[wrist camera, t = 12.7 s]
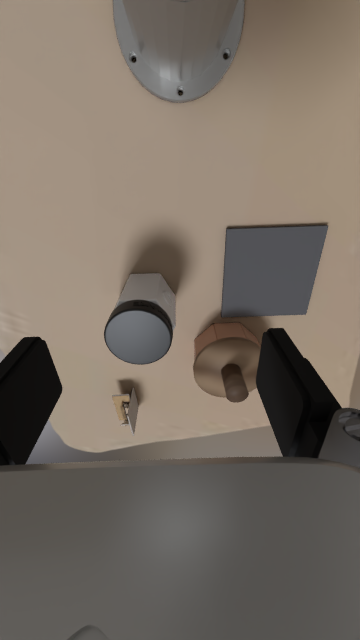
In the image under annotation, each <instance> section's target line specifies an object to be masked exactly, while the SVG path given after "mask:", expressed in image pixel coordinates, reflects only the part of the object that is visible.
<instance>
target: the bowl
mask: <svg viewBox="0 0 360 640" xmlns="http://www.w3.org/2000/svg"><path fill="white" fill-rule="evenodd" d="M226 337H241V338H246V339H249V340H251V341H253V342H255V343H256V344H258V345H259V346H260V344H259V342H258V340H257V338H256V337H255V336H254V335H253V334H252V333H251V332H250V331H249V330H247V329H246V328H245V327H244V326H243V325H242V324H241V323H214V324H212V325H211V326H210V327H209V328H207V329H206V330H205V331H204V332H203V333H202V334H200V335H199V336H198V337H197V338H196V339H195V340H194V360H195V359H196V357H197V355H198V353H199V352H200V351H201V350H202V349H203V348H204V347H205V346H207V345H208V344H210V343H211V342H214V341H216V340H219V339H222V338H226ZM260 347H261V346H260Z"/></svg>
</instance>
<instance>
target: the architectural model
mask: <svg viewBox="0 0 360 640" xmlns="http://www.w3.org/2000/svg"><path fill="white" fill-rule="evenodd" d="M112 398H113V401H114V404H115V407H116V411H117V414H118V417H119V420H124V423H122V424H121V425H125V426H126V425H130V428H131V432H132V435H133V436H134V432H135V425H136V419H137V413H138V402H137V398H136V394H135V390H134V387H133V389H132V394H131V399H130V396H129V394H121V395H112ZM125 402H126V403H127V402H128V403H127V404H128V406H127V405H126V403H125ZM129 402H130V405H129ZM123 403H124V404H125V405H126V406H127V408H128V407H129V410H128V414H126V411H125V408H126V407H125V406H124V404H123ZM125 421H126V422H125ZM121 425H120V426H121Z"/></svg>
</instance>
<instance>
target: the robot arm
mask: <svg viewBox="0 0 360 640" xmlns="http://www.w3.org/2000/svg"><path fill="white" fill-rule="evenodd" d="M244 5H245V4H244V0H113V15H114V23H115V29H116V35H117V39H118V42H119V45H120V48H121V51H122V54H123V56H124V58H125V61H126V63H127V65H128V66H129V68H130V70H131V72H132V73H133V75H134V76H135V78H136V79H137V80H138V81H139V82H140V84H141V85H142V86H143V87H144V88H145V89H147V90H148V91H149V92H150V93H151V94H153V95H155V96H156V97H158V98H160V99H162V100H166V101H169V102H175V103H184V102H189V101H193V100H196V99H198V98H200V97H202V96H204V95H205V94H207V93H208V92H209V91H210V90H212V89H213V88H214V87H215V86H216V85H217V84H218V82H219V81H220V80H221V79H222V78H223V76H224V74H225V73H226V71H227V70H228V68H229V66H230V64H231V62H232V60H233V58H234V56H235V53H236V50H237V47H238V44H239V41H240V37H241V32H242V27H243V20H244ZM224 54H226V55H227V57H228V58H227V59H226V60H225V59H224V58H223V55H224ZM134 57H135V58H136V62H135V63H133V62H132V58H134ZM180 90H181V91H182V92H183V95H182V96H179V95H178V92H179V91H180ZM256 386H257V389H258V392H259V394H260V397H261V400H262V402H263V405H264V408H265V410H266V413H267V416H268V418H269V421H270V424H271V426H272V429H273V431H274V434H275V437H276V439H277V442H278V445H279V447H280V450H281V453H282V455H283V457H228V458H192V459H160V460H131V461H103V462H75V463H51V464H26V462H27V460H28V458H29V455H30V454H31V452H32V450H33V448H34V446H35V444H36V442H37V440H38V438H39V436H40V434H41V432H42V430H43V428H44V426H45V424H46V423H47V421H48V419H49V417H50V415H51V413H52V411H53V409H54V407H55V405H56V403H57V401H58V399H59V397H60V395H61V393H62V385H61V382H60V379H59V376H58V374H57V371H56V368H55V366H54V363H53V360H52V358H51V355H50V352H49V349H48V347H47V344H46V342H45V341H44V340H42V339H41V338H40V337H24V338H23V339H22V340H21V341H20V342H19V343H18V344H17V345H16V346H15V347H14V348H13V349H12V351H11V352H10V353H9V354H8V355H7V356H6V357H5V358H4V359H3V360H2V362H1V363H0V640H360V410H358V409H353V408H342V407H341V406H340V405H339V403H338V402H337V400H336V399H335V397H334V396H333V395H332V393H331V392H330V390H329V389H328V387H327V386H326V385H325V383H324V382H323V380H322V379H321V378H320V376H319V375H318V373H317V372H316V370H315V369H314V368H313V366H312V365H311V363H310V362H309V361H308V360H307V359H306V358H303V356H302V355H301V353H300V352H299V350H298V349H297V347H296V346H295V344H294V343H293V342H292V340H291V339H290V337H289V336H288V334H287V333H286V331H285V330H284V329H283V328H269V329H268V331H267V332H264V333H263V337H262V343H261V350H260V356H259V362H258V368H257V374H256ZM25 464H26V465H25Z"/></svg>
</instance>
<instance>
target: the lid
mask: <svg viewBox="0 0 360 640" xmlns="http://www.w3.org/2000/svg"><path fill="white" fill-rule="evenodd" d="M260 350H261V347H260V346H259V345H258V344H256V343H255V342H253V341H251V340H249V339H246V338H241V337H226V338H222V339H219V340H216V341H214V342H211V343H210V344H208V345H207V346H205V347H204V348H203V349H202V350H201V351H200V352H199V353H198V355H197V357H196V359H195V361H194V366H193V371H194V378H195V381H196V383H197V384H198V386H199V387H200V388H201V389H202V390H203V391H205V392H207V393H208V394H211V395H214V396H217V397H227V399H228V400H229V401H231V402H241V401H244V400H245V399H246V398H247V397H248V394H249V393H248V392H250V391H252V390H254V389H255V388H256V387H257V386H256V374H257V368H258V362H259V356H260Z"/></svg>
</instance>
